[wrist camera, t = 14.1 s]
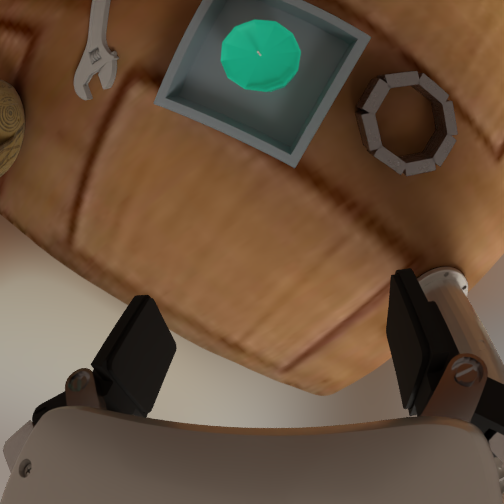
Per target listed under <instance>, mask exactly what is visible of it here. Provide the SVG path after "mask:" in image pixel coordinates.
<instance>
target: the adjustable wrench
mask: <svg viewBox="0 0 504 504" xmlns="http://www.w3.org/2000/svg"><path fill="white" fill-rule="evenodd" d="M110 1H111V0H92V6H91V14H90V23H89V34H88V41H87V45H86V48H85V51H84V53H83V56H82V59H81V61H80V64H79V66H78V68H77V70H76V73H75V76H74V88H75V91H76V93H77V95H78V96H79V97H80V98H81V99H83V100H89V99H93V98H92V95H91V92H90V89H89V86H88V83H89V81H90V80H91V78H92V76H93V75H94V74H95V73H97V72H100V73H99V74H98V75H99V78H100V81H101V84H102V87H103V89H109V88H111V87H112V85H113V83H114V80H115V77H116V72H117V60H118V59H119V57H118V56H117V53H116V51H113V52H111V50H110V49H109V47H108V45H107V41H106V30H107V22H108V14H109V7H110Z"/></svg>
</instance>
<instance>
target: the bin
mask: <svg viewBox="0 0 504 504" xmlns="http://www.w3.org/2000/svg"><path fill="white" fill-rule="evenodd" d="M254 19H256V20H269V21H276V22H278V23H279V24H280V25H282V26H283V27H285V28H286V29H287V30H289V31H290V32H292V33H293V35H294V37H295V39H296V41H297V43H298V46H299V48H300V50H301V55H300V62H299V68H298V71H297V73H296V74H295V76H294V77H293V78H292V80H291V81H290V82H289V83H288V84H287V85H286V86H285V87H283V88H281V89H278V90H275V91H272V92H262V91H254V90H246V89H243V88H242V87H241V86H239V85H238V84H236V83H235V82H233V81H232V80H230V79H229V78H227V75H226V73H225V70H224V68H223V66H222V63H221V49H222V42H223V40H224V39H225V38H226V37H227V35H228V34H229V33H230V32H231V31H232V29H233V28H234V27H235V26H238V25H240V24H243V23H246V22H249V21H251V20H254ZM370 39H371V37H370V36H369V35H367V34H365V33H364V32H362V31H360V30H359V29H357V28H355V27H354V26H352V25H350V24H348V23H347V22H345V21H343V20H341V19H339V18H338V17H336V16H334V15H332V14H330V13H328V12H326V11H324V10H322V9H320V8H318V7H316V6H314V5H312V4H309V3H307V2H305V1H303V0H202V2H201V4H200V6H199V7H198V9H197V11H196V13H195V15H194V17H193V18H192V20H191V22H190V24H189V26H188V28H187V30H186V32H185V34H184V36H183V38H182V40H181V42H180V44H179V46H178V48H177V50H176V52H175V54H174V56H173V59H172V61H171V63H170V65H169V67H168V70H167V72H166V74H165V77H164V79H163V81H162V84H161V86H160V89H159V91H158V93H157V96H156V98H155V101H154V104H156V105H158V106H161V107H164V108H166V109H169V110H171V111H174V112H176V113H179V114H181V115H183V116H186V117H188V118H191V119H193V120H195V121H198V122H200V123H202V124H205V125H207V126H209V127H212V128H214V129H216V130H218V131H221V132H223V133H225V134H227V135H229V136H231V137H234V138H236V139H238V140H240V141H242V142H244V143H246V144H248V145H250V146H253V147H255V148H257V149H259V150H261V151H263V152H265V153H267V154H269V155H271V156H273V157H275V158H277V159H278V160H280V161H282V162H284V163H286V164H288V165H290V166H292V167H294V168H295V167H296V166H297V164H298V162H299V160H300V159H301V157H302V155H303V153H304V152H305V150H306V148H307V147H308V145H309V143H310V141H311V140H312V138H313V136H314V135H315V133H316V131H317V129H318V128H319V126H320V124H321V122H322V121H323V119H324V117H325V116H326V114H327V112H328V110H329V109H330V107H331V105H332V104H333V102H334V100H335V98H336V97H337V95H338V93H339V92H340V90H341V88H342V86H343V85H344V83H345V81H346V80H347V78H348V76H349V74H350V73H351V71H352V69H353V68H354V66H355V64H356V63H357V61H358V59H359V57H360V56H361V54H362V52H363V51H364V49H365V47H366V45H367V44H368V42H369V40H370Z"/></svg>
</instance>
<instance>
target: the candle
mask: <svg viewBox="0 0 504 504" xmlns="http://www.w3.org/2000/svg"><path fill="white" fill-rule="evenodd" d="M300 55H301V50H300V48H299V46H298V43H297V41H296V39H295V37H294V35H293V33H292V32H290V31H289V30H287V29H286V28H285V27H283V26H282V25H280V24H279V23H278V22H276V21H269V20H256V19H254V20H251V21H249V22H246V23H243V24H240V25H238V26H235V27H234V28H233V29H232V31H231V32H230V33H229V34H228V35H227V37H226V38H225V39H224V40H223V42H222V49H221V63H222V66H223V68H224V70H225V73H226V75H227V78H229V79H230V80H232V81H233V82H235V83H236V84H238V85H239V86H241V87H242V88H243V89H246V90H254V91H262V92H272V91H275V90H278V89H281V88H283V87H285V86H286V85H287V84H288V83H289V82H290V81H291V80H292V78H293V77H294V76H295V74H296V73H297V71H298V68H299V62H300Z"/></svg>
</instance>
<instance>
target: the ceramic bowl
mask: <svg viewBox="0 0 504 504" xmlns="http://www.w3.org/2000/svg"><path fill="white" fill-rule="evenodd" d="M24 131H25V114H24V108H23V104H22V102H21V99H20V97H19V95H18V93H17V92H16V90H15V88H14V87H13V86H12V85H10V84H9V83H7V82H5V81H3V80H0V177H1V176H2V175H3V174H4V173H5V172H6V171H7V170H8V169H9V168H10V167H11V166H12V164H13V163H14V161H15V160H16V158H17V155H18V153H19V151H20V148H21V145H22V142H23V138H24Z"/></svg>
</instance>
